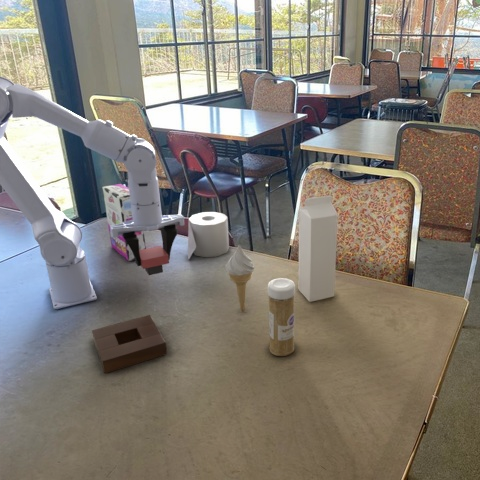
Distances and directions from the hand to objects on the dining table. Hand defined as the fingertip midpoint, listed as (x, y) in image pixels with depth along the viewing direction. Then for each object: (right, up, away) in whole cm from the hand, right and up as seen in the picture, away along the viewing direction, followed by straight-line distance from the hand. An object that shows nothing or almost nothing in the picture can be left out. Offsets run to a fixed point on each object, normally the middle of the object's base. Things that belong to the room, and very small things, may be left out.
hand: (152, 261), depth 103 cm
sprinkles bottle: (+29, -15, -17) cm, 37 cm away
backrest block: (+2, -15, -18) cm, 23 cm away
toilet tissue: (+7, +1, +20) cm, 21 cm away
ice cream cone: (+20, -10, -6) cm, 23 cm away
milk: (+35, -7, +2) cm, 36 cm away
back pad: (0, -2, +1) cm, 2 cm away
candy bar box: (-12, +1, +18) cm, 22 cm away
